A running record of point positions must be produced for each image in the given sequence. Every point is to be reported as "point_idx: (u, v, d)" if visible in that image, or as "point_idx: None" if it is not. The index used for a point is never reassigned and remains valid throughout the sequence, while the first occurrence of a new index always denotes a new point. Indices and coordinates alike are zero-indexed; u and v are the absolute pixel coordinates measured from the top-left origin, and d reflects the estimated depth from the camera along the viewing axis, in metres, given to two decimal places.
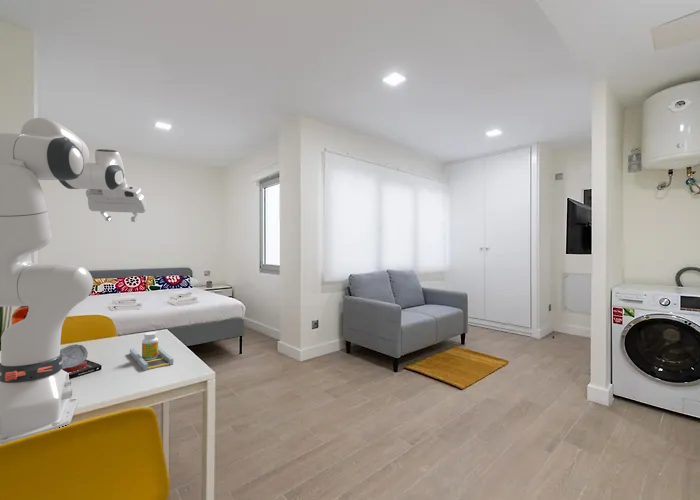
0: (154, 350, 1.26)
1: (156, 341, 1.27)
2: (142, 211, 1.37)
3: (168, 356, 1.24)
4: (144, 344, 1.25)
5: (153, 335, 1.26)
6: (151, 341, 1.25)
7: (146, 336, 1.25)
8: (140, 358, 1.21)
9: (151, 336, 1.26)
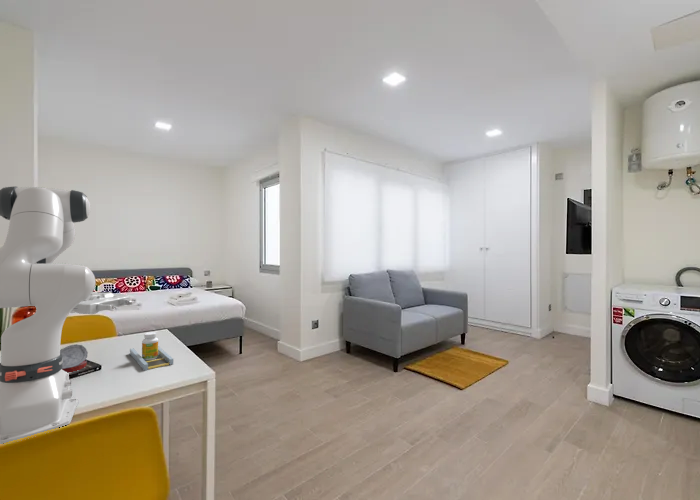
0: (154, 350, 1.26)
1: (156, 341, 1.27)
2: (127, 296, 1.38)
3: (168, 356, 1.24)
4: (144, 344, 1.25)
5: (153, 335, 1.26)
6: (151, 341, 1.25)
7: (146, 336, 1.25)
8: (140, 358, 1.21)
9: (152, 336, 1.26)
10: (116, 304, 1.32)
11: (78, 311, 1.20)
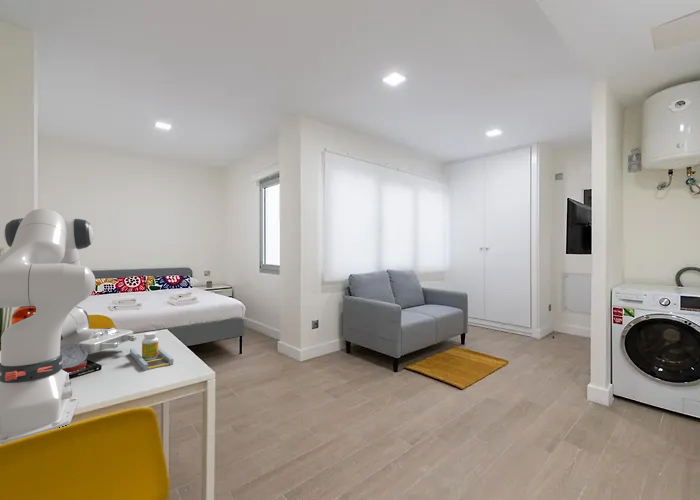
0: (154, 350, 1.26)
1: (156, 341, 1.27)
2: None
3: (168, 356, 1.24)
4: (144, 344, 1.25)
5: (153, 335, 1.26)
6: (151, 341, 1.25)
7: (146, 336, 1.25)
8: (140, 358, 1.21)
9: (152, 336, 1.26)
10: (120, 340, 1.32)
11: None
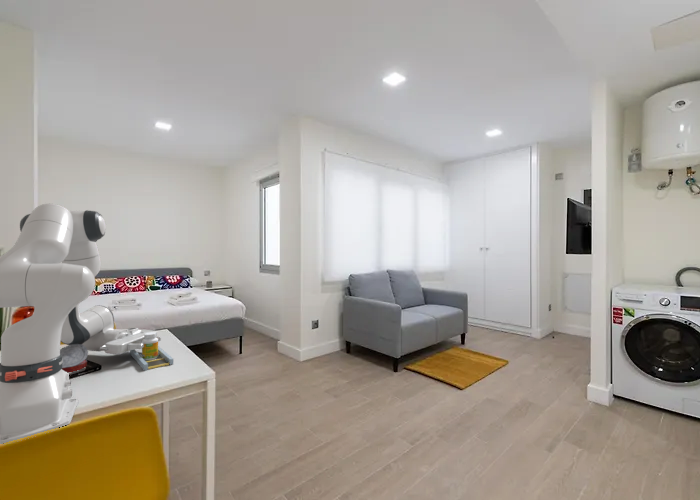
0: (154, 350, 1.26)
1: (156, 341, 1.27)
2: (154, 331, 1.37)
3: (168, 356, 1.24)
4: (144, 344, 1.25)
5: (153, 335, 1.26)
6: (151, 341, 1.25)
7: (146, 336, 1.25)
8: (140, 358, 1.21)
9: (152, 336, 1.26)
10: None
11: (109, 352, 1.18)
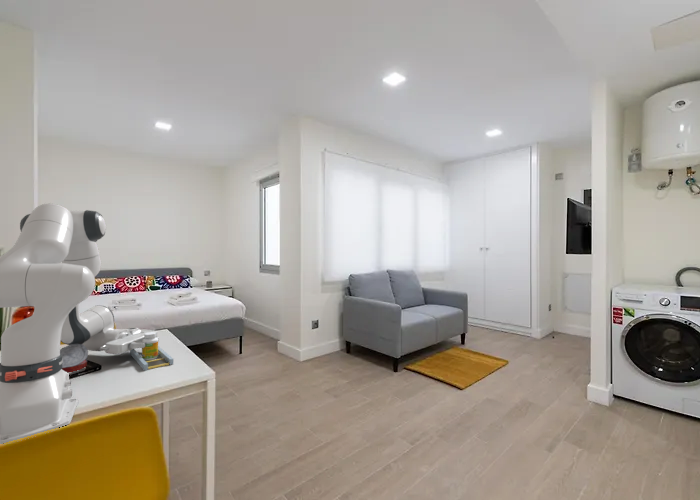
0: (154, 350, 1.26)
1: (156, 341, 1.27)
2: (155, 331, 1.37)
3: (168, 356, 1.24)
4: None
5: (153, 335, 1.26)
6: (151, 341, 1.25)
7: (146, 336, 1.25)
8: (140, 358, 1.21)
9: (152, 336, 1.26)
10: None
11: (109, 352, 1.18)
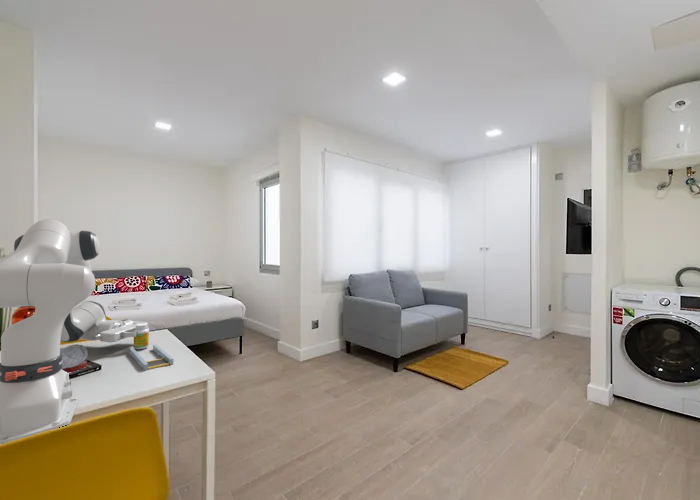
0: (145, 340, 1.38)
1: (147, 332, 1.38)
2: (146, 322, 1.48)
3: (168, 356, 1.24)
4: None
5: (144, 326, 1.38)
6: (141, 331, 1.37)
7: (137, 327, 1.37)
8: (140, 358, 1.21)
9: (142, 327, 1.37)
10: None
11: (103, 340, 1.30)
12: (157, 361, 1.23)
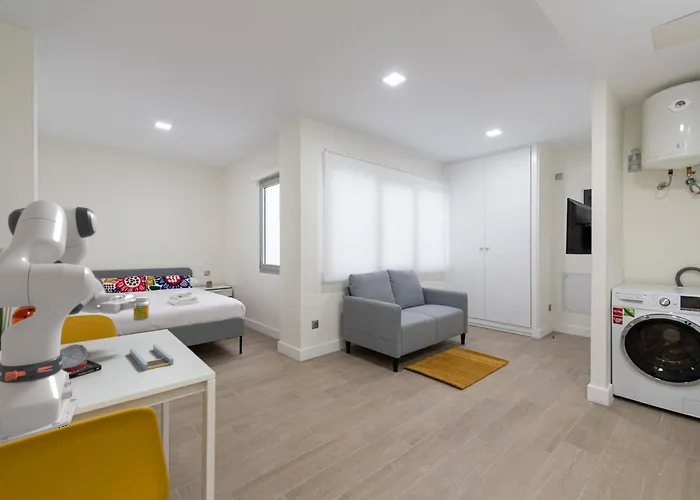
0: (145, 312, 1.38)
1: (147, 304, 1.38)
2: (146, 296, 1.48)
3: (168, 356, 1.24)
4: None
5: (144, 299, 1.38)
6: (142, 304, 1.37)
7: (137, 299, 1.37)
8: (140, 358, 1.21)
9: (142, 300, 1.37)
10: None
11: (103, 310, 1.30)
12: (157, 361, 1.23)
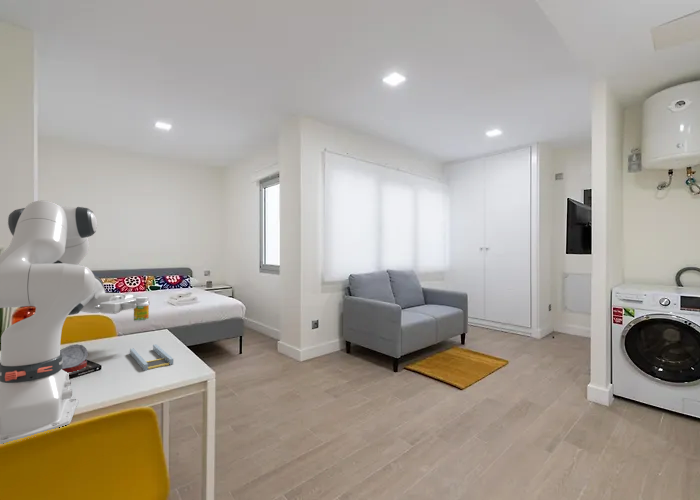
0: (145, 312, 1.38)
1: (147, 304, 1.38)
2: (146, 296, 1.48)
3: (168, 356, 1.24)
4: None
5: (144, 299, 1.38)
6: (142, 304, 1.37)
7: (137, 299, 1.37)
8: (140, 358, 1.21)
9: (142, 300, 1.37)
10: None
11: (103, 310, 1.30)
12: (157, 361, 1.23)
